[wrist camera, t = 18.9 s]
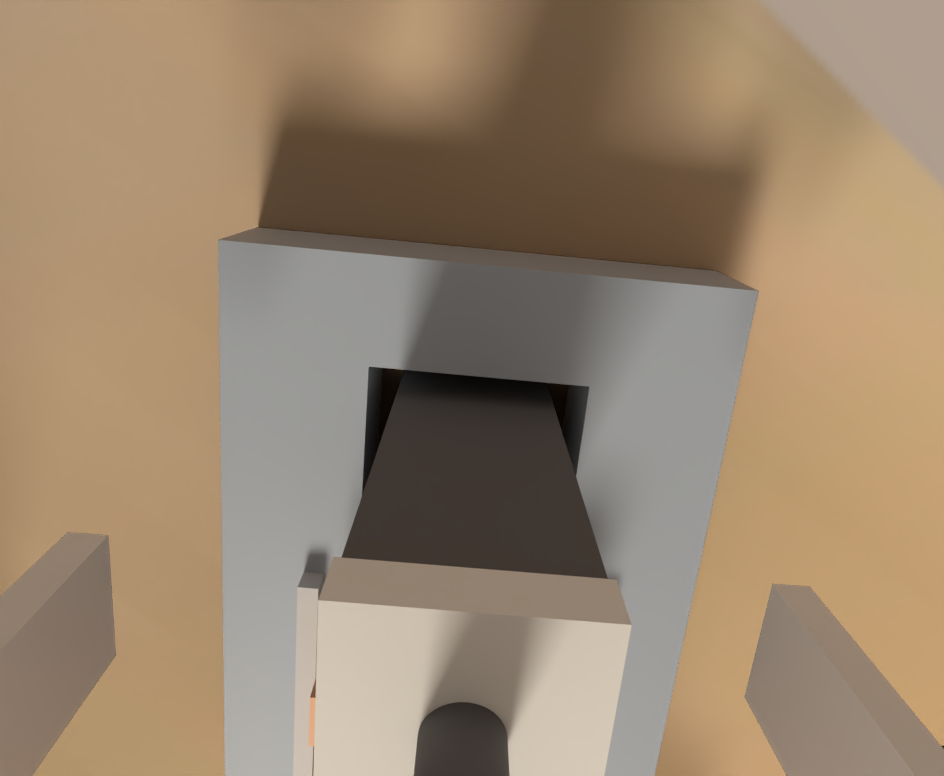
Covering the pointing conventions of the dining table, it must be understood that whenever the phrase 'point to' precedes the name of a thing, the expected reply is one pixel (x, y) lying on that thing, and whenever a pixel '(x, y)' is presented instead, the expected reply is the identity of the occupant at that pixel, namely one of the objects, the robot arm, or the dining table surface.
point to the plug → (469, 598)
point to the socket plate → (473, 354)
